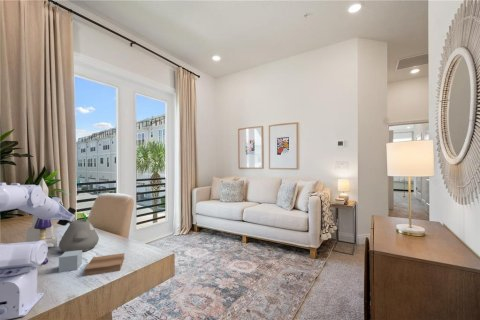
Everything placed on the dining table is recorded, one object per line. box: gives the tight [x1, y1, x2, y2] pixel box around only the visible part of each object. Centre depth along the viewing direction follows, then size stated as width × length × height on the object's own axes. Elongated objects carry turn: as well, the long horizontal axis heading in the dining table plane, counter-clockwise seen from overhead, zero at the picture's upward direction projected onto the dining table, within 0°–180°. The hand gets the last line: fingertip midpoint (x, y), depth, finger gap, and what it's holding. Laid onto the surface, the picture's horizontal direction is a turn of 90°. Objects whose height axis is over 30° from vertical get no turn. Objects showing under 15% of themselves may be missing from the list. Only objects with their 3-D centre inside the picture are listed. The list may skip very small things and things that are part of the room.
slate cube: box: [58, 250, 83, 274], centre depth 74 cm, size 5×5×5 cm
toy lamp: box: [34, 218, 53, 266], centre depth 78 cm, size 5×5×17 cm
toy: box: [58, 212, 100, 253], centre depth 92 cm, size 15×14×15 cm
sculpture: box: [24, 177, 58, 248], centre depth 91 cm, size 7×8×30 cm
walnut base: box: [84, 252, 125, 277], centre depth 75 cm, size 10×10×2 cm
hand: (61, 215), depth 74 cm, fingers open, 7 cm apart
